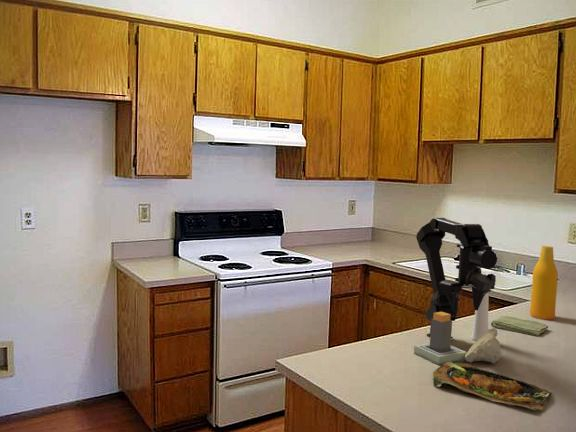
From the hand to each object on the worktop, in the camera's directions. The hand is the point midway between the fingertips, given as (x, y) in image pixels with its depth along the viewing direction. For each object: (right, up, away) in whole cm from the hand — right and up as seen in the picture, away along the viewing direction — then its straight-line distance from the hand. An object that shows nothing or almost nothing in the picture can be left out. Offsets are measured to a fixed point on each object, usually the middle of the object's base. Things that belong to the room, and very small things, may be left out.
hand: (465, 311), depth 170 cm
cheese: (+4, -14, -5) cm, 15 cm away
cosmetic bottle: (+10, -12, +14) cm, 21 cm away
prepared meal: (-3, -16, -28) cm, 33 cm away
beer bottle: (+47, -11, +47) cm, 67 cm away
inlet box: (-10, -13, -5) cm, 17 cm away
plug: (-10, -13, -5) cm, 17 cm away
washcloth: (+30, -12, +29) cm, 44 cm away
